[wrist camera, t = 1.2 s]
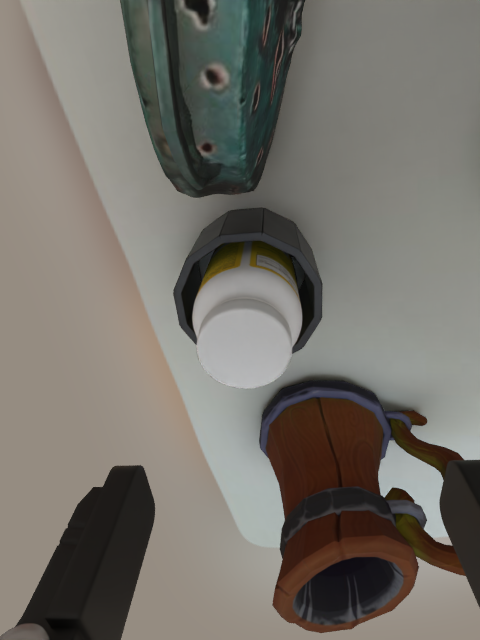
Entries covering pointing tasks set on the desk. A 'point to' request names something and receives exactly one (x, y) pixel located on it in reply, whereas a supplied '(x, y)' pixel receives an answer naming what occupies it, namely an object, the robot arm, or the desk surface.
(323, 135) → the desk surface
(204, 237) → the cup
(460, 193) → the desk surface
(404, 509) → the mug
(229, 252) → the pill bottle
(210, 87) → the ceramic cat
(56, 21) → the desk surface
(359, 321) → the desk surface
